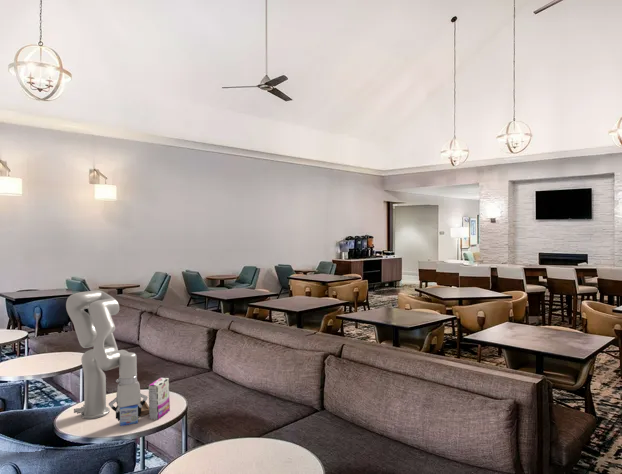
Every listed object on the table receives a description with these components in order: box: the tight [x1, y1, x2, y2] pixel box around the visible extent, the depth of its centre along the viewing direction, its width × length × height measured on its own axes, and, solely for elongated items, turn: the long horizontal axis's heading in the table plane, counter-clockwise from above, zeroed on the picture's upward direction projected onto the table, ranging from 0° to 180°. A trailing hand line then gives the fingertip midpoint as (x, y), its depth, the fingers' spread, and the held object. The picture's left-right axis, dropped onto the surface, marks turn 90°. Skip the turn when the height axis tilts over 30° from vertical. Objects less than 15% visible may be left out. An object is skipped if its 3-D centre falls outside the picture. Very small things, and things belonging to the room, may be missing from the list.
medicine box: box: [118, 404, 139, 427], centre depth 210 cm, size 8×4×9 cm, turn 115°
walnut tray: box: [138, 400, 149, 418], centre depth 223 cm, size 10×14×2 cm
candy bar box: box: [148, 377, 171, 421], centre depth 219 cm, size 11×5×16 cm, turn 168°
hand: (128, 417), depth 210 cm, fingers closed on medicine box, 8 cm apart
